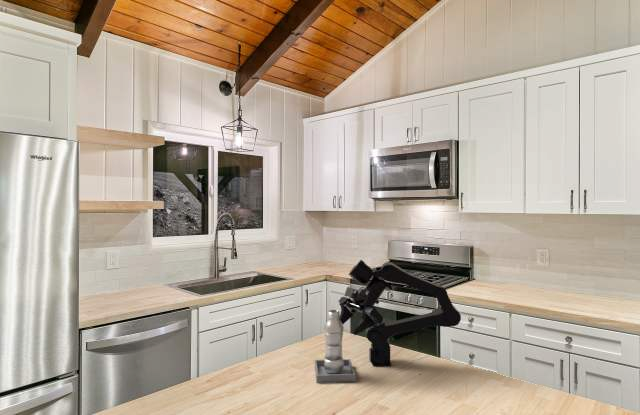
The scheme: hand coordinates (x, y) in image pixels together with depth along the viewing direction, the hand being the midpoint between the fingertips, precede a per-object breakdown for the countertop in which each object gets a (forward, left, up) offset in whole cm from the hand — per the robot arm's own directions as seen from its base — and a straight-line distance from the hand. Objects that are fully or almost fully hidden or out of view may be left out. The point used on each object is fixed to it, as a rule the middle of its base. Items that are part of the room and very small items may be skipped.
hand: (345, 330), depth 135 cm
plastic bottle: (+4, +2, -13) cm, 14 cm away
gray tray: (+4, +2, -14) cm, 14 cm away
